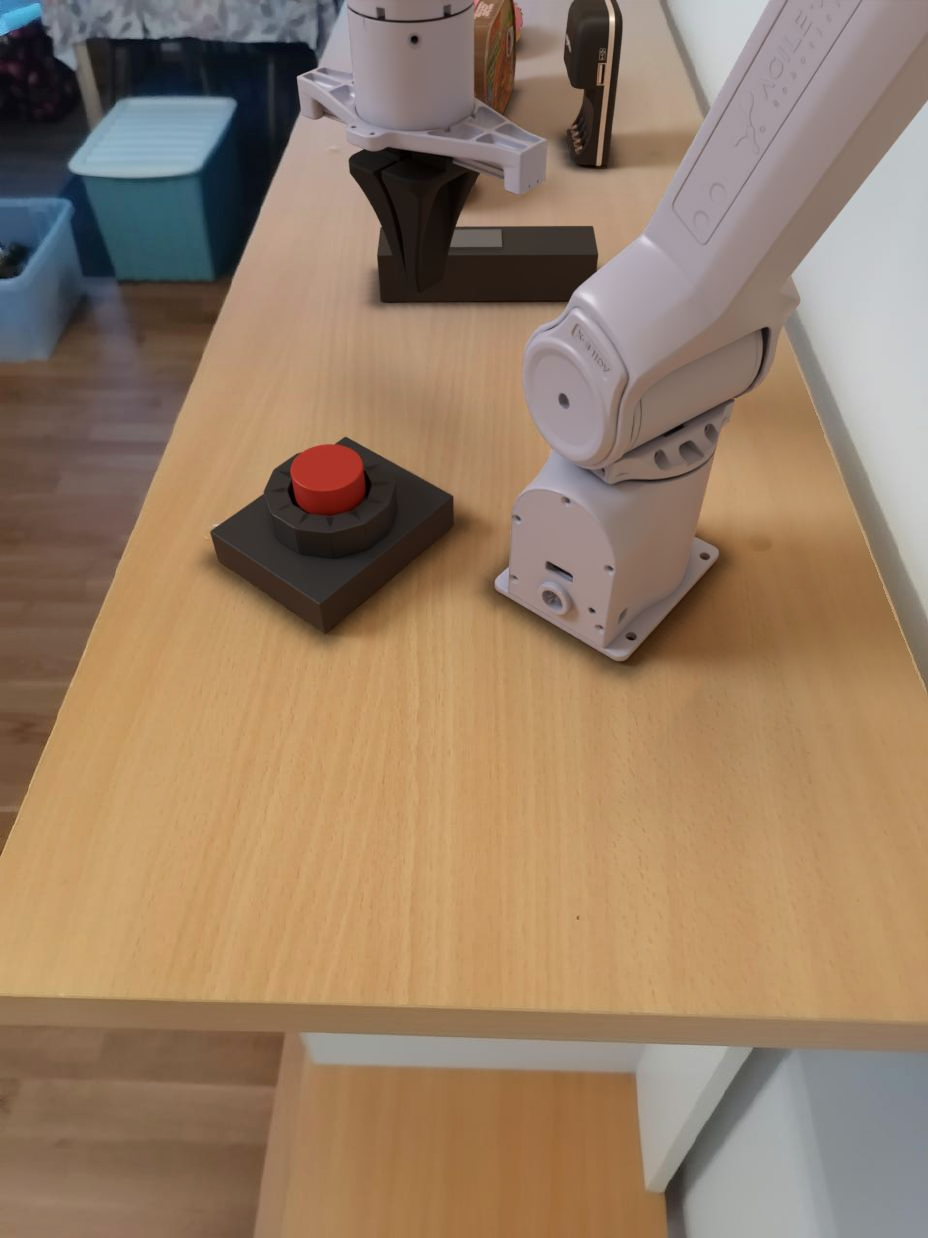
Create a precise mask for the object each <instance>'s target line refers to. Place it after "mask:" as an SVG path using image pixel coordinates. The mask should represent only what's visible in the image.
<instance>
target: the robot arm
mask: <svg viewBox="0 0 928 1238" xmlns="http://www.w3.org/2000/svg"><path fill="white" fill-rule="evenodd" d="M346 13H347V21H348V23H347V24H348V36H349V43H350V44H349V46H350V58H351V68H352V71H348V70H342V69H339V68H334V67H331V66H330V67H329V66H327V65H321V66H319V67H317V68H314V69H312V70H309V71H307V72H304V73H302V74H300V75H297V76H296V81H297V90H298V97H299V104H300V112H301V113H300V114H301V116H302V117H304V118H307V119H310V120H312V121H313V120H314V121H317V120H320V119H322V118H323V117H324V118H327V119H330V120H332V121H336V122H338V123H341V124H343V125H346V126H345V132H346V142H347V143H348V144H350V145H352V146H354V147H358V148H360V150H359V151H357V152H355V153H353V154H352V155H350V157H349V158H348V171H349V174H350V175H351V177H352V178H353V179H354V181H355V182H356V184H357V185H358V186H359V188H360V189H361V191H362V192H363V194H364V196H365V198H366V199H367V201H368V203H369V204H370V206H371V208H372V209H373V211H374V213H375V216H376V217H377V219H378V221H379V224H380V226H381V227H382V228H383V231H384V234H385V236H386V239H387V241H388V244H389V247H390V250H391V253H392V256H393V259H394V262H395V265H396V268H397V271H398V274H399V277H400V280H401V282H402V285H403V286H405V287H407V288H409V289H411V290H414V291H416V292H418V293H422V292H423V291H425V290H427V289H428V288H430V287H431V286H433V285H435V284H436V283H438V282H440V281H441V280H443V276H444V271H445V266H446V262H447V257H448V253H449V249H450V245H451V241H452V237H453V234H454V230H455V227H457V224H458V221H459V218H460V216H461V214H462V211H463V209H464V205H465V204H466V202H467V199H468V197H469V195H470V194H471V191H472V189H473V187H474V185H475V183H476V181H477V180H478V178H479V177H480V175H481V174H482V175H484V176H487V177H490V178H492V179H496V180H498V181H501V182H503V189H504V190H505V191H506V192H509V193H511V194H514V195H517V196H522V195H524V194H525V193H527V192H529V191H531V190H534V189H535V188H536V187H538V186H539V185H540V184H542V183H544V182H545V181H546V179H547V177H546V176H547V174H546V173H547V162H548V161H547V157H548V144H549V143H548V142H549V141H548V139H547V138H544V137H542V136H540V135H537V134H534V133H532V132H530V131H528V130H525V129H524V128H522V127H520V125H517V124H515V123H514V122H513V121H512V120H510V119H508V118H507V117H506V116H503V115H501V114H499V113H498V112H496V111H495V110H493V109H492V108H490V107H489V106H487V105H486V104H484V103H483V102H481V101H480V100H478V99H477V98H475V97H474V0H346ZM926 103H928V0H769V1H768V2H767V4H766V5H765V8H764V9H763V11H762V14H761V15H760V17H759V19H758V21H757V22H756V24H755V26H754V28H753V29H752V32H751V33H750V35H749V37H748V39H747V40H746V43H745V45H744V46H743V48H742V49H741V52H740V53H739V55H738V57H737V59H736V61H735V62H734V65H733V66H732V68H731V70H730V71H729V74H728V76H727V78H726V79H725V81H724V83H723V85H722V86H721V89H720V90H719V92H718V94H717V95H716V98H714V101H713V103H712V105H711V106H710V109H709V111H708V112H707V114H706V116H705V118H704V120H703V121H702V123H701V125H700V126H699V129H698V131H697V132H696V134H695V136H694V138H693V140H692V141H691V143H690V145H689V147H688V149H687V151H686V153H684V156H683V158H682V160H681V162H680V163H679V165H678V167H677V169H676V171H675V173H674V174H673V177H672V179H671V180H670V182H669V184H668V186H667V188H666V189H665V191H664V193H663V195H662V197H661V199H660V201H659V202H658V204H657V205H656V207H655V210H654V211H653V213H652V215H651V217H650V218H649V220H648V222H647V224H646V226H645V228H644V229H643V231H642V232H641V233H640V234H639V235H638V236H637V237H636V238H635V239H634V240H633V241H631V242H630V243H629V244H627V246H626V247H624V248H623V249H622V250H620V252H618V253H617V254H616V255H615V256H613V257H612V258H611V259H610V260H609V261H607V262H606V263H604V264H603V266H600V268H598V269H597V272H595V273H594V274H593V275H592V276H591V277H590V278H588V279H587V280H586V281H585V282H584V283H583V284H582V285H580V286H579V287H578V288H577V289H576V290H575V291H574V293H573V294H572V296H571V298H570V300H569V301H567V305H566V306H565V307H564V310H563V311H562V312H561V313H560V315H559V316H557V317H556V318H553V319H551V320H549V321H546V322H544V323H542V324H540V325H539V326H538V327H536V328H535V329H534V330H533V331H532V333H531V334H530V336H528V337H529V338H528V340H527V341H526V344H525V347H524V351H523V356H522V369H521V382H522V391H523V395H524V400H525V403H526V407H527V410H528V412H529V415H530V417H531V420H532V422H533V424H534V425H535V427H536V429H537V431H538V432H539V433H540V435H541V436H542V438H543V439H544V441H545V442H546V443H547V444H548V445H549V446H550V447H551V450H550V452H549V454H548V456H547V460H546V462H545V463H544V464H543V465H542V467H541V469H540V470H539V472H538V473H537V474H536V476H535V477H534V478H533V479H532V480H531V481H530V483H529V484H528V485H527V486H526V487H525V488H524V489H522V491H520V493H519V494H518V496H517V497H516V498H515V500H514V503H513V505H512V508H511V513H510V514H511V515H510V535H509V536H510V537H509V556H508V557H509V559H508V560H509V562H508V566H507V567H506V568H505V569H504V570H503V571H502V572H500V574H499V575H497V577H496V578H495V579H494V588H495V590H496V591H497V592H499V593H500V594H501V595H503V596H505V597H507V598H508V599H510V600H512V601H513V602H515V603H517V604H518V605H520V606H522V607H523V608H526V609H527V610H529V611H530V612H532V613H534V614H535V615H537V616H538V617H540V618H542V619H544V620H546V622H549V623H551V624H553V625H554V626H555V627H558V628H559V629H561V630H563V631H564V632H566V633H568V634H569V635H571V636H572V637H574V638H576V639H578V640H579V641H581V642H582V643H585V644H586V645H588V646H590V647H591V648H593V649H595V650H596V651H598V652H599V653H601V654H602V655H605V656H606V657H608V658H610V659H611V660H613V661H616V662H623V661H626V660H628V659H629V658H630V656H631V655H632V654H633V653H634V652H635V651H636V650H637V649H638V648H639V647H640V646H641V644H642V643H644V642H645V640H646V639H647V638H648V636H649V635H650V634H651V633H652V632H653V631H654V630H655V629H656V628H657V627H658V626H659V624H660V623H661V622H662V621H663V620H664V619H665V618H666V617H667V616H668V614H669V613H670V612H671V611H672V610H673V609H674V608H675V607H676V606H677V605H678V604H679V603H680V601H681V600H682V599H683V598H684V597H685V596H686V595H687V594H688V593H689V591H690V590H691V589H692V588H693V587H694V586H695V585H696V584H697V582H699V580H700V579H701V578H702V577H703V576H704V575H705V574H706V572H708V570H709V569H710V568H711V567H712V566H713V565H714V564H715V563H716V561H717V560H718V559H719V555H720V551H719V548H717V547H716V546H715V545H712V544H711V543H709V542H706V541H705V540H702V539H701V538H699V537H696V532H697V529H698V524H699V519H700V516H701V511H702V508H703V503H704V500H705V495H706V492H707V487H708V483H709V479H710V476H711V471H712V467H713V463H714V459H715V455H716V452H717V447H718V443H719V439H720V435H721V431H722V428H723V427H725V425H728V423H730V421H731V418H732V413H733V408H734V405H735V401H736V400H735V399H738V398H741V397H742V396H744V395H747V394H748V393H751V392H752V391H754V390H755V389H756V388H758V387H759V386H761V384H762V383H763V381H764V380H765V379H766V378H767V377H768V374H769V373H770V371H771V369H772V367H773V364H774V361H775V357H776V353H777V346H778V341H779V338H780V334H781V332H782V330H783V327H784V325H785V323H786V322H787V321H788V319H789V318H790V316H791V315H792V314H793V313H794V312H795V310H796V309H797V308H798V306H800V303H801V295H800V294H799V293H800V292H799V291H798V289H797V286H796V284H795V281H794V279H793V276H792V275H793V273H794V272H795V271H796V270H797V268H798V267H799V266H800V264H801V263H802V262H803V261H804V260H805V258H806V257H807V256H808V254H809V253H810V252H811V250H812V249H813V248H814V247H815V245H816V244H817V243H818V241H819V240H820V239H821V237H822V236H823V235H824V234H825V233H826V231H827V230H828V228H829V227H830V226H831V225H832V223H833V222H834V221H835V220H836V219H837V218H838V216H839V215H840V213H841V212H842V211H843V209H844V208H845V207H846V206H847V204H848V203H849V202H850V201H851V199H852V198H853V197H854V196H855V194H856V193H857V192H858V190H859V189H860V188H861V186H862V185H863V184H864V183H865V181H867V179H868V177H870V175H871V174H872V173H873V171H875V169H876V168H877V166H878V165H879V164H880V162H881V161H882V159H883V158H884V157H885V156H886V155H887V153H888V152H889V151H890V150H891V148H892V147H893V146H894V144H895V143H896V142H897V140H898V139H899V138H900V137H901V135H902V134H903V133H904V131H905V130H906V129H907V128H908V126H910V124H911V123H912V121H913V120H914V119H915V117H916V116H917V115H918V114H919V112H920V111H921V110H922V108H923V107H924V106H925V105H926ZM628 638H631V639H633V640H631V639H628Z"/></svg>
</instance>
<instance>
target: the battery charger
mask: <svg viewBox="0 0 928 1238" xmlns="http://www.w3.org/2000/svg"><path fill="white" fill-rule="evenodd" d="M623 29H624V19H623V14H622V10H621V8H620V6H619V3H618V0H572V2H571V3H570V6H569V8H568V11H567V20H566V27H565V35H564V36H565V37H564V46H563V49H564V50H563V63H564V65H565V69H566V75H567V77H568V78H567V79H568V80H569V84H570V86H571V87H572V88H574V89H578V90H583V95H582V103H581V107H580V108H579V112H578V114H577V116H576V117H575V119H574V121H573V122H572V124H571V126H570V127H569V128H567V130H566V133H565V138H566V144H567V148H568V152H569V156H570V159H571V162H573V163H574V164H576V165H583V166H596V167H601V166H604V165H608V163H609V162H610V152H611V143H612V142H611V141H612V134H613V125H614V124H613V123H614V116H615V107H616V101H617V100H616V98H617V91H618V90H617V89H618V81H619V73H620V62H621V55H622V54H621V52H622V43H623V31H624V30H623Z"/></svg>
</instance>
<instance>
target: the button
mask: <svg viewBox="0 0 928 1238" xmlns="http://www.w3.org/2000/svg"><path fill="white" fill-rule="evenodd" d="M301 452H302V453H300V452H299V453H300V454H299V455H298V456H297V457H296V458H295V460H294V461H293V463H292V465H291V470H290V471H291V478H292V483H293V489H294V494H295V499H296V501H297V503H298V505H299V506H300V507H301V508H302V509H303V510H305V511H306V512H308V513H310V514H315V515H324V516H333V515H337V514H341V513H345V512H349V511H351V510H353V509H354V508H356V507H357V506H358V505H359V504H360V503H361V502H362V500H363V499H364V496H365V493H366V487H365V478H364V469H363V462H362V459H361V458H360V456H359V455H358V454H357V453H356V452H355V451H354V450H352V449H350V448H348V447H345V446H341V445H335V443H334V444H333V443H331V444H330V443H327V444H320V445H315V446H312V447H309V448H307V449H305V450H304V451H301Z"/></svg>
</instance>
